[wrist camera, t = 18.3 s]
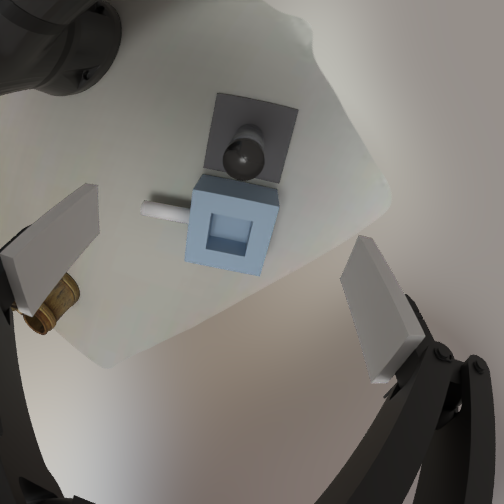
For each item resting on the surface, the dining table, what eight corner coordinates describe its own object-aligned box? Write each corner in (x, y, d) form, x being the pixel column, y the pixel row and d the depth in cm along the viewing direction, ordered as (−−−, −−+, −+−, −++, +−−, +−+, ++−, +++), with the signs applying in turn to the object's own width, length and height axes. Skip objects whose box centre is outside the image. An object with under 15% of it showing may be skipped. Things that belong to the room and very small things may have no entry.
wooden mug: (45, 241, 44) (-12, 303, 29) (87, 295, 50) (45, 365, 35) (26, 259, 46) (-24, 316, 31) (65, 307, 52) (26, 370, 37)
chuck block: (153, 166, 37) (136, 179, 32) (277, 189, 38) (279, 206, 33) (149, 229, 42) (134, 250, 37) (260, 252, 43) (259, 276, 38)
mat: (217, 92, 32) (217, 92, 31) (298, 109, 33) (298, 109, 32) (204, 167, 37) (203, 167, 37) (278, 182, 38) (279, 183, 37)
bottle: (232, 148, 35) (219, 176, 25) (237, 121, 33) (226, 136, 23) (260, 154, 35) (259, 184, 25) (266, 127, 34) (268, 145, 23)
